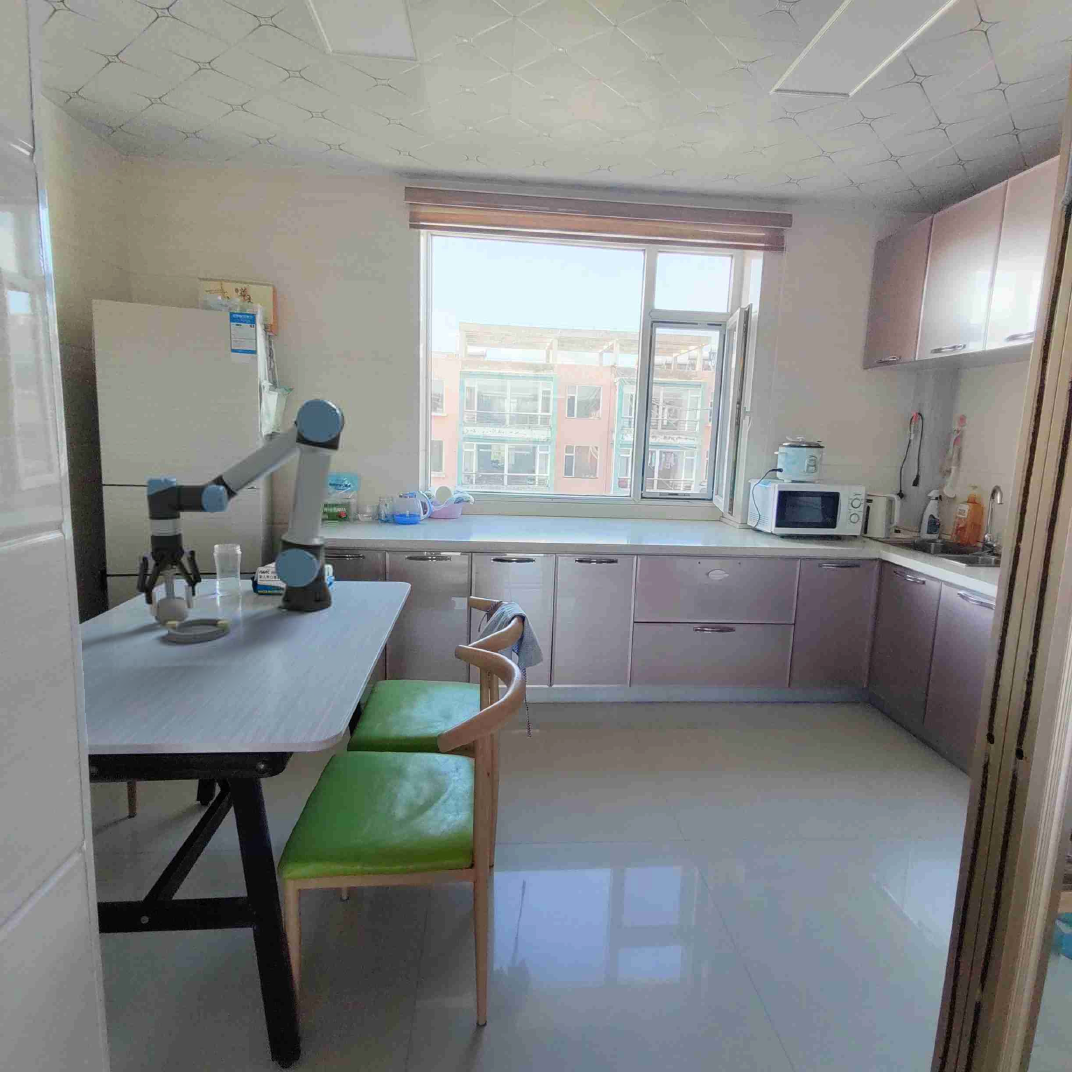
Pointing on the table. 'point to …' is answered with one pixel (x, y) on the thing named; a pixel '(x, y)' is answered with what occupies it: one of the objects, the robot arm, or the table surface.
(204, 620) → the grey flat ring
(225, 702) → the table surface
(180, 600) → the potion bottle
